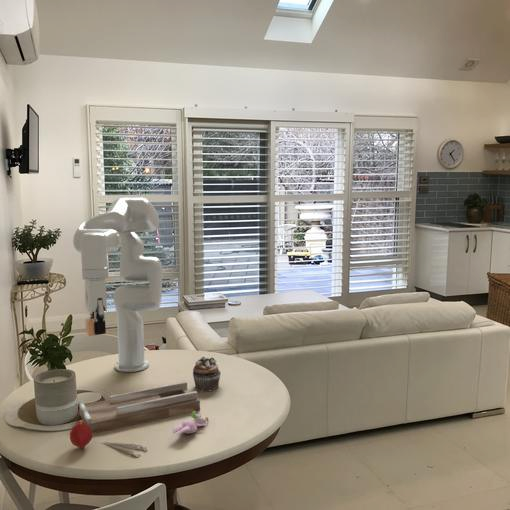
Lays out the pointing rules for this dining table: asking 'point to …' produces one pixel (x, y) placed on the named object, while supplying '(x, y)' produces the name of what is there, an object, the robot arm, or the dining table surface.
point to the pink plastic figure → (190, 424)
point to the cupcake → (206, 374)
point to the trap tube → (139, 406)
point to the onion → (81, 434)
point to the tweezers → (127, 446)
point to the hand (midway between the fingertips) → (98, 330)
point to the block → (90, 326)
